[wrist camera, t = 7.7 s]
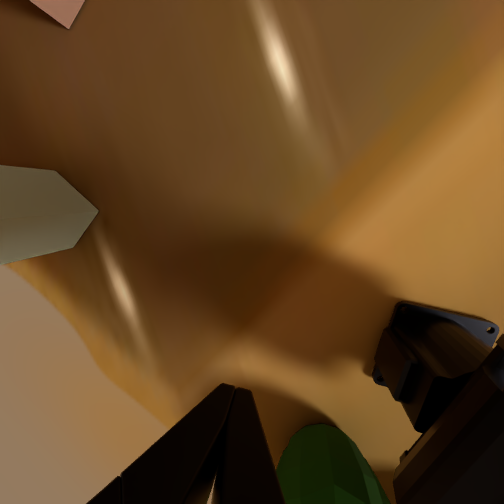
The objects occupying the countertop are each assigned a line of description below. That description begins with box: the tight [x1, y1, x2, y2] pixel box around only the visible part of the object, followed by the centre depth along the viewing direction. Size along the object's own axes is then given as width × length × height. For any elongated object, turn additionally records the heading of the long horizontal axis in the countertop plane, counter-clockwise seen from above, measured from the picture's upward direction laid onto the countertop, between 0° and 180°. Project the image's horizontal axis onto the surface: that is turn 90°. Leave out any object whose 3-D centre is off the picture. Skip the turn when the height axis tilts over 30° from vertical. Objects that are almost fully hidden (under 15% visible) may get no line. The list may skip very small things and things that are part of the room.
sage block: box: [0, 165, 99, 265], centre depth 17 cm, size 4×4×10 cm
